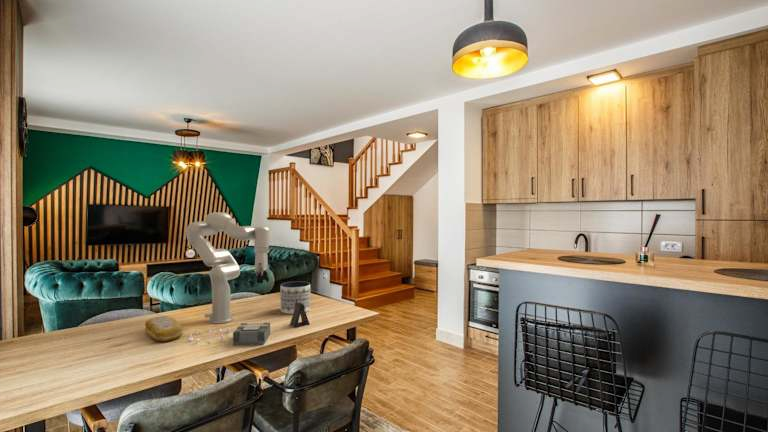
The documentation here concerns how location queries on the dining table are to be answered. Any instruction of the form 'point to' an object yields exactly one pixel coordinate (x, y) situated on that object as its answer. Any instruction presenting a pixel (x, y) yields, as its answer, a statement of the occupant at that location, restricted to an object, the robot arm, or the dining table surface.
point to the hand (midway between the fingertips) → (261, 281)
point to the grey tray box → (252, 327)
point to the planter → (294, 296)
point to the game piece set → (208, 331)
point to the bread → (163, 328)
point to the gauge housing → (251, 336)
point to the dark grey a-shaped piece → (297, 312)
